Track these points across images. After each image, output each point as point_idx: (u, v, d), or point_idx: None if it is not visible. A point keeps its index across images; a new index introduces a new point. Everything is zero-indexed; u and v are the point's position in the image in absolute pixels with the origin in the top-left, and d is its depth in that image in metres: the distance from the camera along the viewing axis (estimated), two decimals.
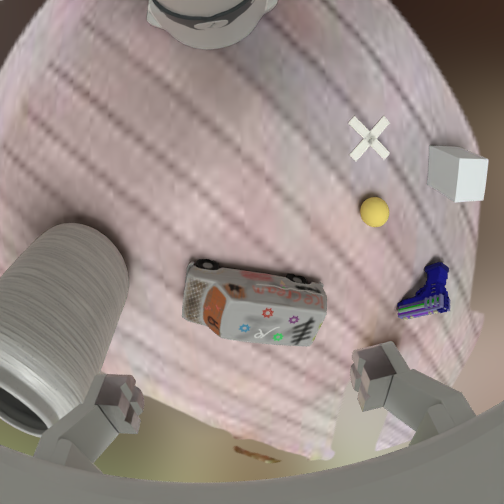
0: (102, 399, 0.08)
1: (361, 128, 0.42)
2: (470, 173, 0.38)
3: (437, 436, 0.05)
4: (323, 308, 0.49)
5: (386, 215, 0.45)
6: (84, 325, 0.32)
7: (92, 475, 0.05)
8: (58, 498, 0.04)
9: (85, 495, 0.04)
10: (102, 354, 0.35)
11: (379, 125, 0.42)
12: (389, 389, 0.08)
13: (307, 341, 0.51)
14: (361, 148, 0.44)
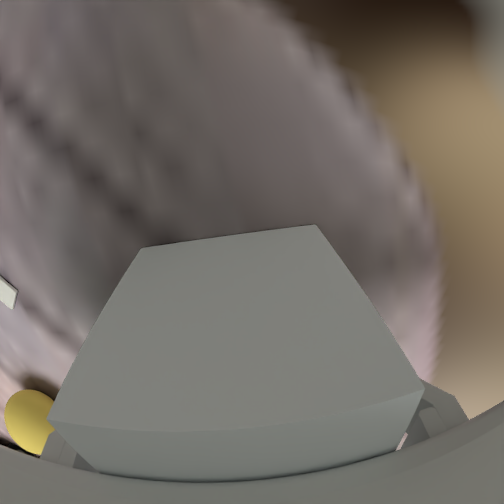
0: None
1: None
2: (213, 480, 0.05)
3: (437, 436, 0.05)
4: None
5: (34, 445, 0.12)
6: None
7: (92, 475, 0.05)
8: (58, 498, 0.04)
9: (85, 495, 0.04)
10: None
11: None
12: None
13: None
14: None
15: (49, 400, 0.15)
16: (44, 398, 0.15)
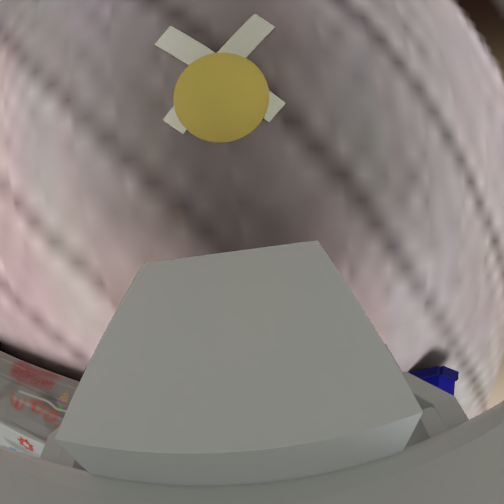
0: None
1: (190, 49, 0.15)
2: None
3: (437, 436, 0.05)
4: None
5: None
6: None
7: (92, 475, 0.05)
8: (58, 498, 0.04)
9: (85, 495, 0.04)
10: None
11: (245, 35, 0.15)
12: None
13: None
14: None
15: (253, 83, 0.12)
16: (251, 89, 0.12)
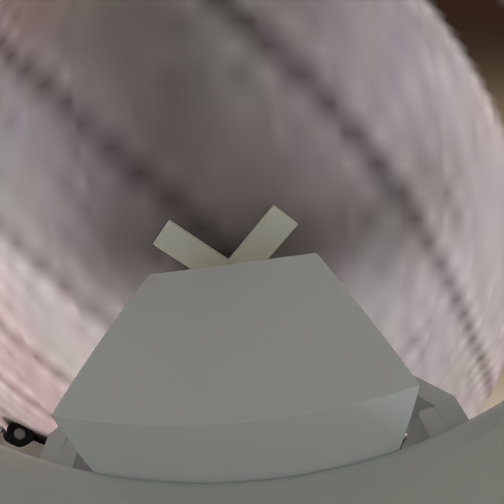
0: None
1: (197, 255, 0.16)
2: None
3: (437, 436, 0.05)
4: None
5: None
6: None
7: (92, 475, 0.05)
8: (58, 498, 0.04)
9: (85, 495, 0.04)
10: None
11: (261, 237, 0.15)
12: None
13: None
14: None
15: None
16: None
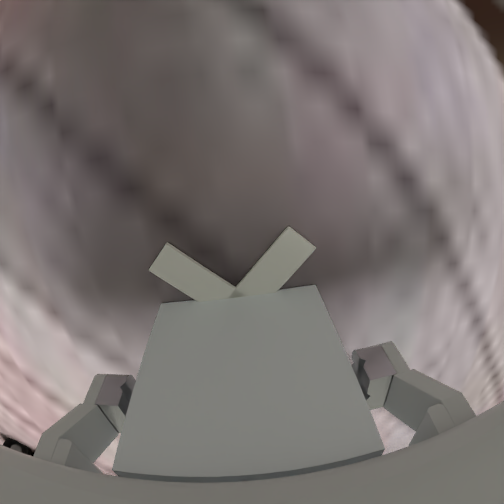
0: (102, 399, 0.08)
1: (200, 283, 0.13)
2: None
3: (437, 436, 0.05)
4: None
5: None
6: None
7: (92, 475, 0.05)
8: (58, 498, 0.04)
9: (85, 495, 0.04)
10: None
11: (274, 263, 0.13)
12: (389, 389, 0.08)
13: None
14: None
15: None
16: None
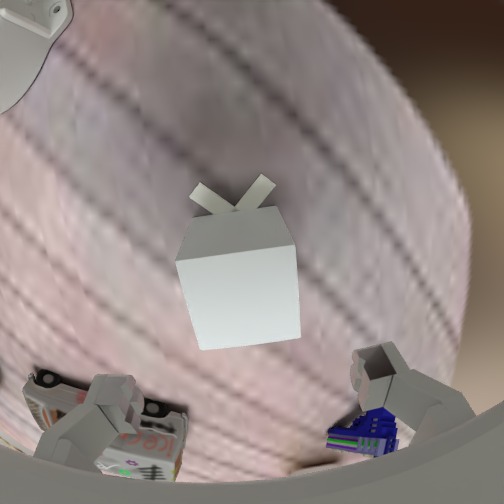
0: (102, 399, 0.08)
1: (216, 204, 0.26)
2: (230, 288, 0.19)
3: (437, 436, 0.05)
4: (169, 456, 0.29)
5: None
6: None
7: (92, 475, 0.05)
8: (58, 498, 0.04)
9: (85, 495, 0.04)
10: None
11: (254, 193, 0.26)
12: (389, 389, 0.08)
13: None
14: None
15: None
16: None
